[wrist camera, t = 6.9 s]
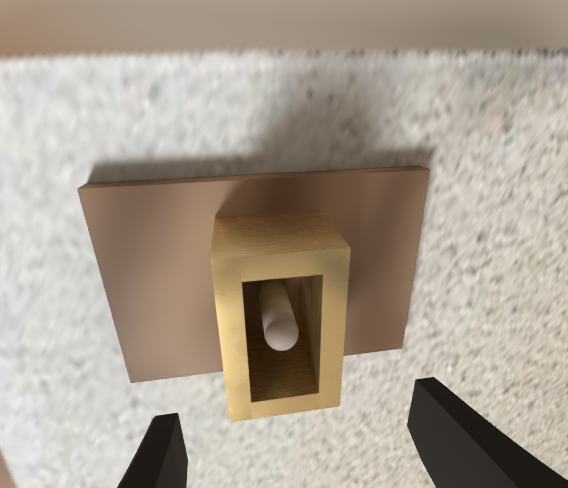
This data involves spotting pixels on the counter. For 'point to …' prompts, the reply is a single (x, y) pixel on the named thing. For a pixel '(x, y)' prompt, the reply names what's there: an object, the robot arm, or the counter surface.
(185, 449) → the robot arm
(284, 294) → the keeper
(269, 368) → the link
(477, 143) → the counter surface
